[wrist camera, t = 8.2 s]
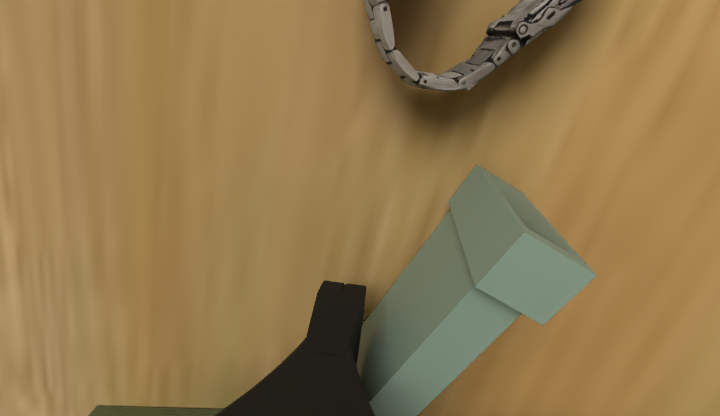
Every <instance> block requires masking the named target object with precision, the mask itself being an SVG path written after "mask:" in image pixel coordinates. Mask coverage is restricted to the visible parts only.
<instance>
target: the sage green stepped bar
mask: <svg viewBox="0 0 720 416" xmlns="http://www.w3.org/2000/svg"><path fill="white" fill-rule="evenodd" d="M449 205H450V211H449V212H448V213H447V215H446V216H445V217H444V219H443V220H442V221H441V223H440V224H439V225H438V226H437V228H436V229H435V230H434V232H433V233H432V234H431V236H430V237H429V238H428V240H427V241H426V242H425V243H424V245H423V246H422V247H421V249H420V250H419V251H418V253H417V254H416V255H415V257H414V258H413V259H412V260H411V262H410V263H409V264H408V266H407V267H406V268H405V270H404V271H403V272H402V274H401V275H400V276H399V277H398V279H397V280H396V281H395V283H394V284H393V285H392V287H391V288H390V289H389V291H388V292H387V293H386V294H385V296H384V297H383V298H382V300H381V301H380V302H379V304H378V305H377V306H376V308H375V309H374V310H373V311H372V313H371V314H370V315H369V317H368V318H367V319H366V321H365V322H364V323H363V325H362V329H361V337H360V345H359V352H358V359H357V370H358V373H359V376H360V379H361V382H362V385H363V387H364V390H365V393H366V395H367V398H368V401H369V403H370V405H371V408H372V410H373V412H374V414H375V416H417V415H418V414H419V413H420V412H421V411H422V410H423V409H424V408H425V407H426V406H427V405H428V404H430V403H431V402H432V401H433V400H434V399H435V398H436V397H437V396H438V395H439V394H440V393H441V392H442V391H443V390H444V389H445V388H446V387H447V386H448V385H449V384H450V383H451V382H452V381H453V380H454V379H455V378H456V377H457V376H458V375H459V374H460V373H461V372H462V371H463V370H464V369H465V368H466V367H467V366H468V365H469V364H470V363H471V362H472V361H474V360H475V359H476V358H477V357H478V356H479V355H480V354H481V353H482V352H483V351H484V350H485V349H486V348H487V347H488V346H489V345H490V344H491V343H492V342H493V341H494V340H495V339H496V338H497V337H498V336H499V335H500V334H501V333H502V332H503V331H504V330H505V329H506V328H507V327H508V326H509V325H510V324H511V323H512V322H513V321H514V320H515V319H516V318H518V317H519V316H520V315H521V314H524V315H525V316H527V317H529V318H531V319H533V320H534V321H536V322H538V323H540V324H541V325H544V324H545V323H546V322H547V321H548V320H549V319H550V318H551V317H552V316H553V315H555V314H556V313H557V312H558V311H559V310H560V309H561V308H562V307H563V306H564V305H565V304H566V303H568V302H569V301H570V300H571V299H572V298H573V297H574V296H575V295H576V294H577V293H578V292H579V291H581V290H582V289H583V288H584V287H585V286H586V285H587V284H588V283H589V282H590V281H591V280H592V279H593V278H595V277H596V276H597V275H596V274H595V273H594V272H593V270H592V269H591V268H590V267H589V266H588V265H587V264H586V263H585V262H584V260H583V259H582V258H581V257H580V256H579V255H578V254H577V253H576V252H575V250H574V249H573V248H572V247H571V246H570V245H569V244H568V243H567V242H566V240H565V239H564V238H563V237H562V236H561V235H560V234H559V233H558V232H557V231H556V229H555V228H554V227H553V226H552V225H551V224H550V223H549V222H548V221H547V219H546V218H545V217H544V216H543V215H542V214H541V213H540V212H539V211H538V209H537V208H536V207H535V206H534V205H533V204H532V203H531V202H530V201H529V199H528V198H527V197H526V196H525V195H524V194H523V193H522V192H521V191H520V190H518V189H516V188H515V187H513V186H511V185H510V184H508V183H507V182H505V181H503V180H502V179H500V178H498V177H497V176H495V175H493V174H492V173H490V172H489V171H487V170H485V169H484V168H482V167H480V166H479V165H476V166H475V167H474V169H473V170H472V171H471V173H470V174H469V175H468V177H467V178H466V179H465V181H464V182H463V183H462V184H461V186H460V187H459V188H458V190H457V191H456V192H455V194H454V195H453V196H452V198H451V199H450V200H449Z"/></svg>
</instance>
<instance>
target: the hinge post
mask: <svg viewBox="0 0 720 416" xmlns="http://www.w3.org/2000/svg"><path fill="white" fill-rule="evenodd" d="M222 410H223V409H198V408H161V407H124V406H97V407H96V408H95V409H94V410H93V411H92V412H91V413H90V415H89V416H215V415H216V414H218V413H219V412H220V411H222Z"/></svg>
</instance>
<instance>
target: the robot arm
mask: <svg viewBox="0 0 720 416" xmlns="http://www.w3.org/2000/svg"><path fill="white" fill-rule="evenodd" d="M365 293H366V286H361V285H353V284H346V285H344V284H343V283H339V282H331V281H324V282H323V283H322V285H321V287H320V289H319V291H318V293H317V297H316V301H315V305H314V309H313V313H312V317H311V321H310V325H309V329H308V333H307V337H306V338H305V339H304V341H303V342H302V343H301V344H300V345H299V346H298V347H297V348H296V349H295V350H294V351H293V352H292V353H291V354H290V355H289V356H288V357H287V358H286V359H285V360H284V361H283V362H282V363H281V364H280V365H279V366H278V367H277V368H275V369H274V370H273V371H272V372H271V373H270V374H268V375H267V376H266V377H265V378H264V379H263V380H261V381H260V382H259V383H258V384H257V385H255V386H254V387H253V388H252V389H250V390H249V391H248V392H247V393H245V394H244V395H243V396H241V397H240V398H239V399H237V400H236V401H234V402H233V403H232V404H230V405H229V406H227V407H226V408H225V409H223V410H222V411H220V412H219V413H218V414H216V415H215V416H375V414H374V412H373V410H372V408H371V405H370V403H369V401H368V398H367V395H366V393H365V390H364V387H363V385H362V382H361V379H360V376H359V373H358V370H357V359H358V352H359V345H360V337H361V329H362V320H363V311H364V302H365Z"/></svg>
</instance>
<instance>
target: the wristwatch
mask: <svg viewBox="0 0 720 416" xmlns="http://www.w3.org/2000/svg"><path fill="white" fill-rule="evenodd" d="M581 1H582V0H521V1H520V2H519V3H518V4H517V5H516V6H514V7H513V8H512V9H511V10H510V11H509V12H508V14H507V15H504V16H502V17H501V18H500V19H497V20H495V21H494V22H492V23H490V24H489V26H488V29H487V31H486V34H487V35H488V37H487V38H485V39H484V40H483V42H482V43H481V44H480V45H479V47H478V48H477V49H476V51H475V52H474V54H473V55H472V57H471V58H470V59H468V60H466V61H464V62H462V63H460V64H458V65H456V66H454V67H452V68H450V69H449V70H447V71H446V72H444V73H443V74H436V73H428V72H422V71H416V70H415V69H414V68H413V67H412V66H411V64H410V63H409V62H408V61H407V60H406V58H405V57H404V56H403V55H402V54H401V53H400V51H399V50H397V49H396V47H395V41H394V30H393V24H392V18H391V13H390V8H389V5H388V0H363V3H364V6H365V9H366V12H367V14H368V17H369V19H370V27H371V30H372V33H373V36H374V38H375V42H376V45H377V47H378V50H379V52H380V54H381V56H382V58H383V60H384V61H385V62H386V63H387V64H388V65H389V66H390V68H391V69H392V70H393V71H394V72H395V73H396V74H398V75H399V76H400V78H401V79H402V80H403V81H404V82H406V83H408V84H410V85H412V86H415V87H421V88H423V89H433V90H441V91H456V90H461V89H465V90H470V89H471V88H472V87H473V86H475V85H476V84H477V83H478V82H480V81H481V80H482V79H483V78H485V77H486V76H487V75H488V74H490V73H491V72H492V71H493V70H495V69H496V68H497V67H499V66H500V65H501V64H502V63H504V62H505V61H506V60H507V59H509V58H510V57H511V56H513V55H514V54H515V53H517V52H518V51H519V50H520V49H522V48H523V47H524V46H525V45H527V44H528V43H530V42H532V41H533V40H535V39H536V38H537V37H538V36H540V35H541V34H542V33H543V32H545V31H546V30H547V29H549V28H551V27H552V26H554V25H555V24H556V23H557V22H559V21H560V20H561V19H562V18H563V17H565V16H566V15H567V14H568V12H569V11H570V10H571V8H572V7H573V6H575V5H576V4H578V3H580V2H581Z"/></svg>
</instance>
